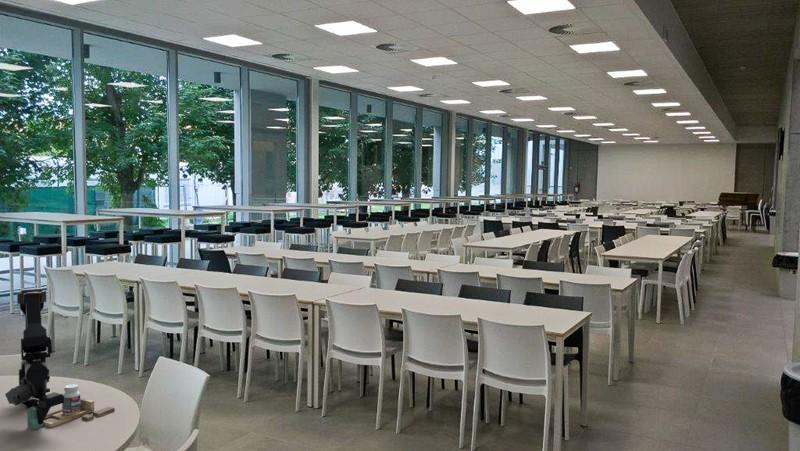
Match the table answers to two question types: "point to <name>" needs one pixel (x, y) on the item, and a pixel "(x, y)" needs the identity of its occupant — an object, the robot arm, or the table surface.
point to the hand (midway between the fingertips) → (36, 423)
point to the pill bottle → (71, 400)
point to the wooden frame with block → (58, 415)
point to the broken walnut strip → (98, 413)
